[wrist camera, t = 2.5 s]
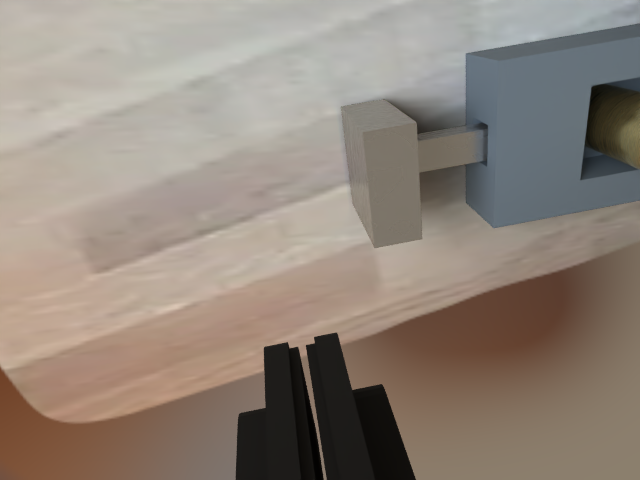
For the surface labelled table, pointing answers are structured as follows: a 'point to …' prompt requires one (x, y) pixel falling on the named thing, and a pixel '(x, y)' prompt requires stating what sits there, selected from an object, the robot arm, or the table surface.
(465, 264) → the table surface
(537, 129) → the socket block
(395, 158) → the plug block
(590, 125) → the peg
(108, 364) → the table surface
